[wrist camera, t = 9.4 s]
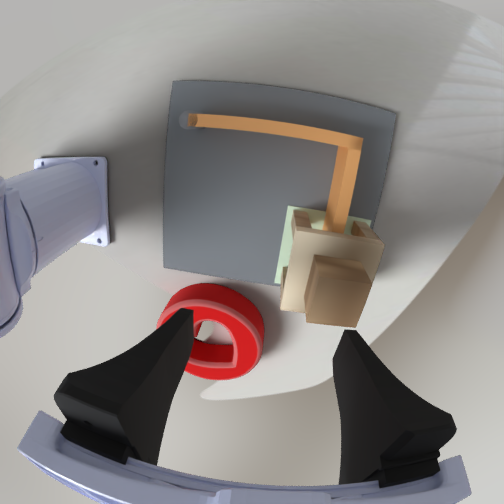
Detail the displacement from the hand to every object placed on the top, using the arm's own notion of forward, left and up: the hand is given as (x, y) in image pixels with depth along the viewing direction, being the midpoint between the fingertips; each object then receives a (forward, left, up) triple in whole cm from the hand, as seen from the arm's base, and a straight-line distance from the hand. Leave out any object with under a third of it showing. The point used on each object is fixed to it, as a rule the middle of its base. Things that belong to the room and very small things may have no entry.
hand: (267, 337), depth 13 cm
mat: (-1, +5, -10) cm, 11 cm away
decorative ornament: (-4, -9, -11) cm, 15 cm away
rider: (+4, +1, -10) cm, 10 cm away
